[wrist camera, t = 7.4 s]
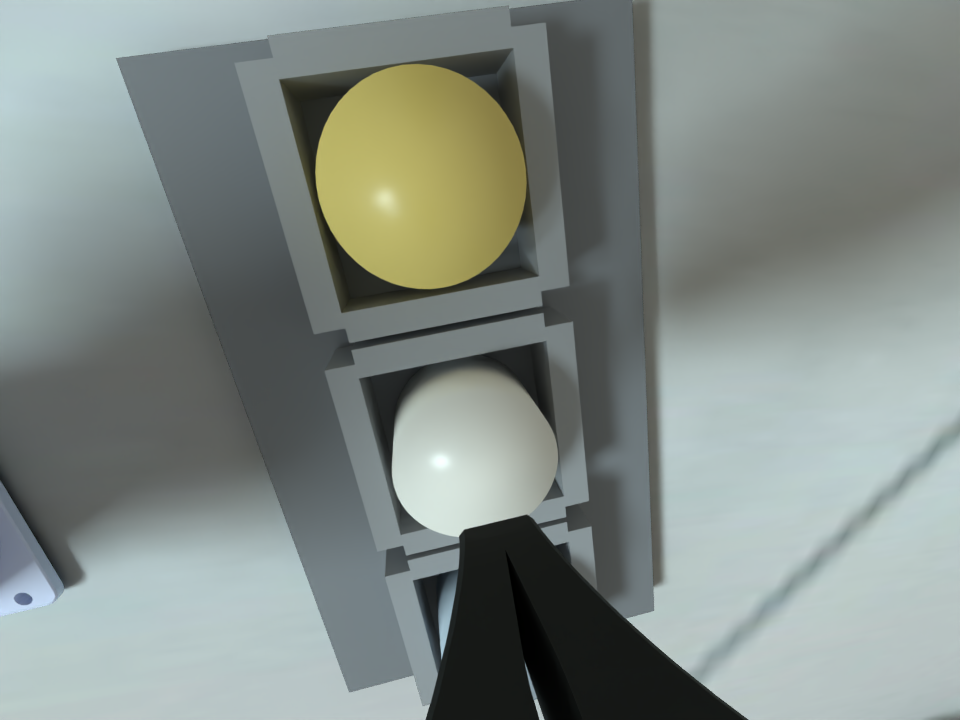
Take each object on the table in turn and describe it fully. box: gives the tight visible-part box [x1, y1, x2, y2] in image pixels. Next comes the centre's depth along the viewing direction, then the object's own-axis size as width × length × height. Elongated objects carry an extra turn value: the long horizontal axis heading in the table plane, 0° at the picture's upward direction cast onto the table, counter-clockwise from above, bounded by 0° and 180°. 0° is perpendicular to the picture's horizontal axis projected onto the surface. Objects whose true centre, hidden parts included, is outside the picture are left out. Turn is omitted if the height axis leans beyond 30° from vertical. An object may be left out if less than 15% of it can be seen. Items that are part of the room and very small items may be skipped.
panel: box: [116, 0, 654, 706], centre depth 14 cm, size 13×22×3 cm, turn 9°
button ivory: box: [392, 355, 558, 537], centre depth 13 cm, size 4×4×3 cm
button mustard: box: [315, 64, 527, 289], centre depth 11 cm, size 4×4×3 cm
